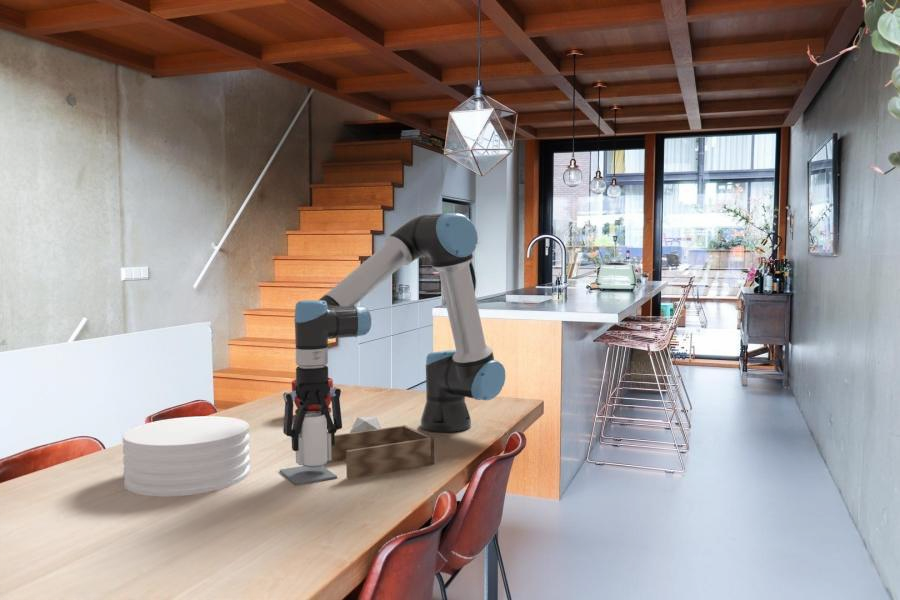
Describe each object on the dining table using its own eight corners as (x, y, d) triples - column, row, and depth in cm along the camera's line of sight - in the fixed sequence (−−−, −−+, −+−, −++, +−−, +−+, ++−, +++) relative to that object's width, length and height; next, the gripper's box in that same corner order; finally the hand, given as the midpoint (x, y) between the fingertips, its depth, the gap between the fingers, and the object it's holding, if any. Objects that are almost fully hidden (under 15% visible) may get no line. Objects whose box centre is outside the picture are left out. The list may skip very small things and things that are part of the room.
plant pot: (341, 413, 238) (341, 377, 237) (313, 421, 227) (313, 383, 226) (312, 409, 245) (311, 374, 244) (283, 416, 234) (282, 380, 233)
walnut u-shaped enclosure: (405, 449, 195) (404, 425, 194) (434, 463, 181) (434, 438, 180) (323, 462, 183) (323, 436, 183) (348, 479, 169) (347, 451, 169)
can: (301, 459, 176) (300, 411, 175) (328, 458, 177) (327, 410, 176) (298, 467, 170) (297, 417, 169) (326, 466, 170) (325, 416, 169)
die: (369, 456, 190) (389, 423, 193) (340, 438, 192) (361, 406, 194) (372, 459, 198) (391, 427, 201) (344, 442, 200) (364, 410, 202)
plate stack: (128, 505, 153) (126, 451, 152) (120, 470, 178) (118, 424, 177) (262, 484, 166) (260, 435, 165) (237, 454, 191) (236, 411, 190)
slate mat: (318, 465, 180) (318, 463, 180) (337, 478, 170) (337, 476, 170) (279, 471, 175) (279, 469, 175) (295, 485, 165) (295, 483, 165)
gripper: (276, 371, 163) (278, 472, 165) (356, 364, 173) (357, 459, 175) (266, 367, 170) (268, 463, 171) (344, 360, 180) (345, 451, 181)
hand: (313, 461), depth 173 cm, fingers closed on can, 6 cm apart
